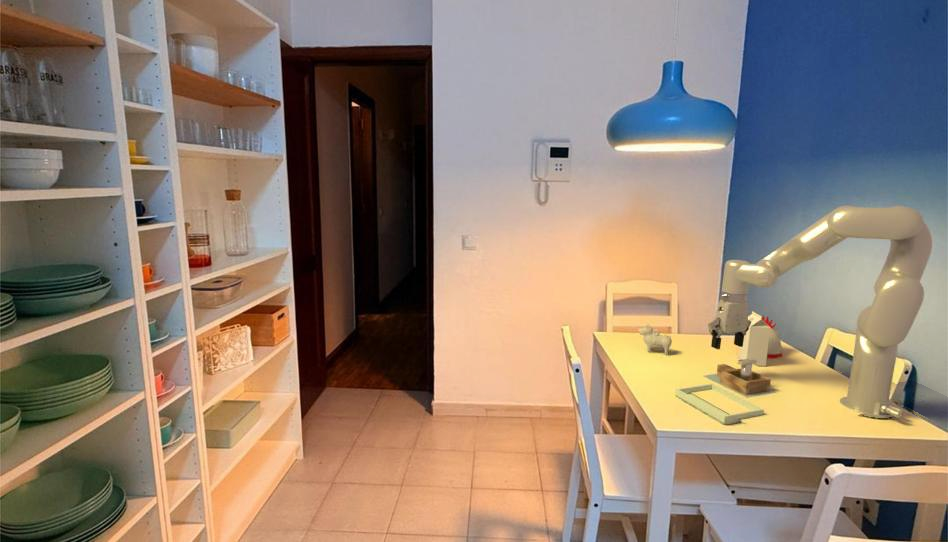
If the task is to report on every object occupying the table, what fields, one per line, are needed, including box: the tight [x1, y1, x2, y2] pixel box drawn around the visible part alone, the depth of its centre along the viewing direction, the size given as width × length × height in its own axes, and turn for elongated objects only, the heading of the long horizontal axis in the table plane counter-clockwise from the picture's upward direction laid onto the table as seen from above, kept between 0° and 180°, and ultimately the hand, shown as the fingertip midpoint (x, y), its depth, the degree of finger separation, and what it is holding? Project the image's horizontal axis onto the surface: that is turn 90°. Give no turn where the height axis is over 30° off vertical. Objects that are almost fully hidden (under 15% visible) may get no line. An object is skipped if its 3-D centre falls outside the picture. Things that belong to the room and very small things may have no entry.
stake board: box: [703, 373, 777, 398], centre depth 159 cm, size 18×12×1 cm, turn 18°
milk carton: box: [737, 311, 770, 367], centre depth 179 cm, size 7×7×19 cm
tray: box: [675, 383, 765, 426], centre depth 145 cm, size 19×14×2 cm
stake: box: [737, 358, 756, 381], centre depth 156 cm, size 3×6×9 cm, turn 108°
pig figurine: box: [637, 324, 673, 356], centre depth 192 cm, size 5×13×11 cm, turn 61°
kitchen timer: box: [762, 315, 783, 359], centre depth 192 cm, size 14×14×15 cm
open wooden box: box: [716, 363, 772, 395], centre depth 159 cm, size 15×10×4 cm, turn 18°
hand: (726, 346), depth 162 cm, fingers open, 9 cm apart
